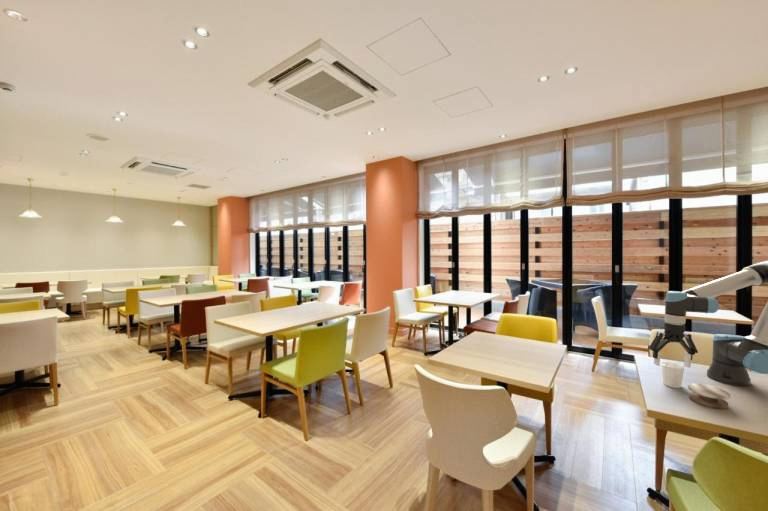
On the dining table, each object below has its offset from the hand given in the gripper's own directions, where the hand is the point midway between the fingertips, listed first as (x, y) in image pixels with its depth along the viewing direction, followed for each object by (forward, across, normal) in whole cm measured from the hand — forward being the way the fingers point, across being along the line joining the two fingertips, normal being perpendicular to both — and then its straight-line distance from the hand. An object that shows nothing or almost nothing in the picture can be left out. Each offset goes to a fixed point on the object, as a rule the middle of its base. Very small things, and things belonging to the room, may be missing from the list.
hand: (671, 365), depth 155 cm
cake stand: (+10, -4, +16) cm, 19 cm away
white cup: (+10, -1, 0) cm, 10 cm away
